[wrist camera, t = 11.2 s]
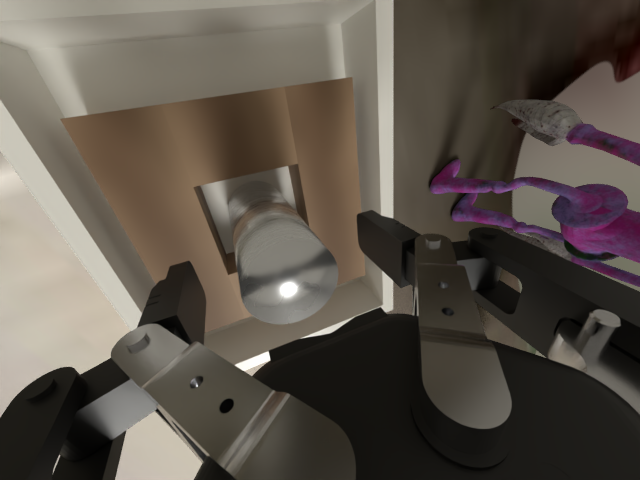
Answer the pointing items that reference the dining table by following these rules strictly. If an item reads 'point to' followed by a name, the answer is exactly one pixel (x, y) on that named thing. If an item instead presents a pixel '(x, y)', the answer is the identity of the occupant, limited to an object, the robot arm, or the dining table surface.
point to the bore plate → (226, 175)
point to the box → (182, 85)
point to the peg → (278, 257)
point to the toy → (561, 194)
